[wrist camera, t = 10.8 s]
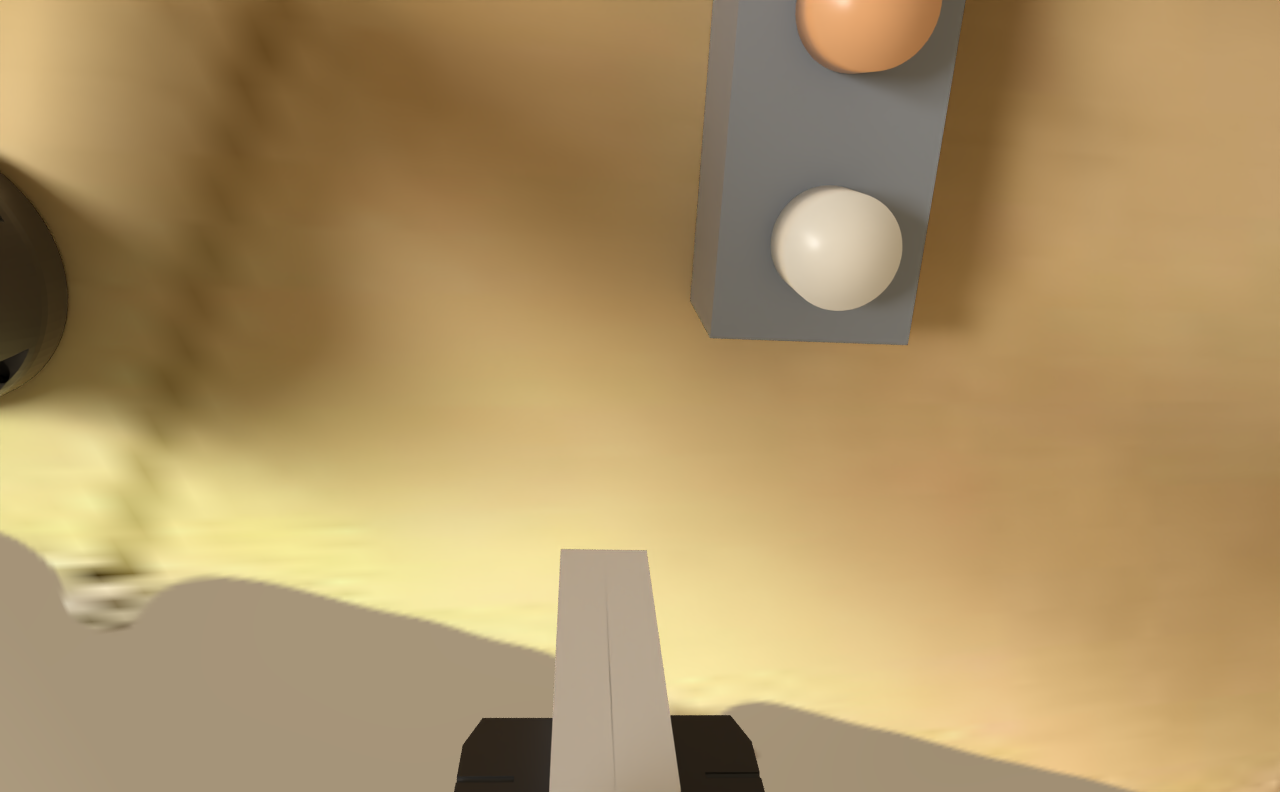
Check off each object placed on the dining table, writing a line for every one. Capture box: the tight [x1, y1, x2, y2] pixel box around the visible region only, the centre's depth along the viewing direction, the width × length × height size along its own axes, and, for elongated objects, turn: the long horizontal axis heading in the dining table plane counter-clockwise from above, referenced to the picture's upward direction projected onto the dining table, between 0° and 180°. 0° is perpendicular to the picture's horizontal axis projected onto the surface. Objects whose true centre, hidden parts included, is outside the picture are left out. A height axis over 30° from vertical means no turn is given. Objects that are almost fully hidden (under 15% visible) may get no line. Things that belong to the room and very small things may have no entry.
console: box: [690, 0, 966, 345], centre depth 42 cm, size 10×20×8 cm, turn 177°
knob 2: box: [771, 185, 902, 311], centre depth 41 cm, size 5×5×11 cm
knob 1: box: [795, 0, 942, 74], centre depth 38 cm, size 5×5×11 cm
